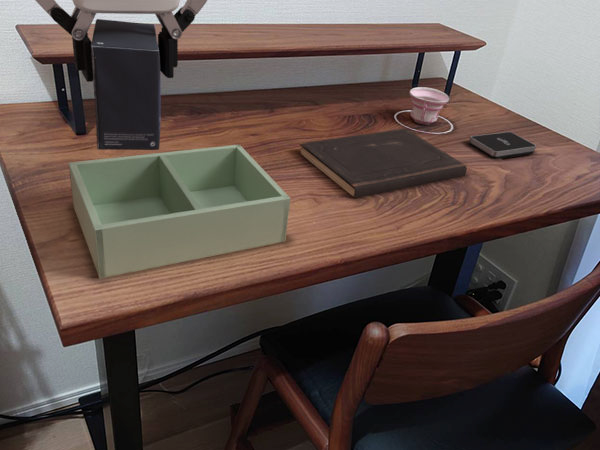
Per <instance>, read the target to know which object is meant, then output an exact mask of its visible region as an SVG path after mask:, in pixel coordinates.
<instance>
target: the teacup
mask: <svg viewBox="0 0 600 450" xmlns="http://www.w3.org/2000/svg"><path fill="white" fill-rule="evenodd" d="M408 93H409V97H410V99H411V104H412V108H411V109H407V110H401V111H398V112H395V114H394V118H393V119H395V121H396V122H397V123H398V124H399V125H401V126H403V127H404V128H406V129H407V128H408V129H409V130H413V131H416V132H419V133H425V134H430V132H429V131H424V130H418V129H414V128H412V127H409V126H406V125H405V124H403V123H402V122H400V121H399V120H398V119H397V115H399V114H402V113H404V112H410V117H411V118H412V119H413V121H414V122H415V123H417V124H419V125H424V126H430V125H432V123H436V122H437V121H438V118H440V119H443V120H444V121H446V122H447V123H448V124H449V125H450V129H449V130H447V131H443V132H431V134H434V135H441V134H447V133H450V132H452V131H453V130H454V124H453V123H452V122H451V121H449V120H448V119H447V118H445V117H444V116H441V115H439V113H440V112H441V110H443V109H444V106H445V105H446V104H447V103H449V101H450V97H449V95H448V94H447V93H445V92H443V91H442V90H439V89H436V88H432V87H426V86H424V87H423V86H418V87H413V88H411V89H410V90H409V92H408Z"/></svg>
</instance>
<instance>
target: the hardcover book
mask: <svg viewBox="0 0 600 450" xmlns="http://www.w3.org/2000/svg"><path fill="white" fill-rule="evenodd" d="M299 146H300V147H301V149H300V155H302V156H303V157H304V158H305V159H307V160H308V161H309V162H310V163H311V164H312V165H314V166H315V167H316V168H318V169H319V170H320V171H321V172H322V173H323V174H325V176H327V177H328V178H330V179H331V180H332V181H333V182H334V183H336V184H337V185H338V186H339V187H341V188H342V189H343V190H344V191H346V193H348V194H349V195H350V196H352V197H353V199H354V200H355V199H359V198H364V197H368V196H374V195H378V194H383V193H387V192H388V193H389V192H393V191H398V190H403V189H407V188H412V187H418V186H422V185H428V184H432V183H437V182H441V181H446V180H451V179H456V178H461V177H465V176H466V173H467V169H468V168H467V165H466V164H465V163H463V162H461V161H460V160H458V159H456V158H455V157H454V156H451V155H450V154H448V153H446V152H445V151H443V150H441V149H440V148H438V147H436V146H435V145H433V144H432V143H430V142H429V141H427V140H425V139H423V137H420V136H418V135H417V134H415V133H414V132H412V131H411V130H410V129H409V130H408V129H407V128H401V129H393V130H388V131H381V132H373V133H366V134H358V135H357V134H356V135H350V136H343V137H335V138H328V139H322V140H315V141H308V142H307V141H305V142H299Z"/></svg>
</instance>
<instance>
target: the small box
mask: <svg viewBox="0 0 600 450" xmlns="http://www.w3.org/2000/svg"><path fill="white" fill-rule="evenodd" d="M91 42H92V43H91V57H92V70H93V81H92V82H93V96H94V109H95V129H96V130H95V131H96V135H95V136H96V149H97V150H100V151H102V150H104V151H105V150H109V151H110V150H116V151H118V150H119V151H120V150H121V151H123V150H125V151H127V150H128V151H159V150H160V144H161V142H160V140H161V122H162V121H161V120H162V119H161V116H162V115H161V113H162V111H161V110H162V109H161V107H162V106H161V103H162V102H161V100H162V99H161V98H162V97H161V93H162V90H161V89H162V87H161V85H162V84H161V82H162V81H161V71H160V56H159V48H158V36H157V31H156V25H155V24H154V23H144V22H132V21H122V20H112V19H111V20H110V19H102V18H97V19H96V20H95V21H94V27H93V33H92V37H91Z"/></svg>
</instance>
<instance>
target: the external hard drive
mask: <svg viewBox="0 0 600 450" xmlns="http://www.w3.org/2000/svg"><path fill="white" fill-rule="evenodd" d="M468 146H470V147H472V148H474V149H475V150H477V151H478V152H479V153H481V154H484V155H485V156H487V157H489V158H490V159H492V160H498V159H499V160H500V159H501V160H503V159H509V158H510V159H511V158H516V157H522V156H523V157H525V156H530V155H534V153H535V150H536V148H537V145H536V144H535V143H533V142H531V141H529V140H527V139H525V138H524V137H521V136H519V135H518V134H516V133H514V132H512V131H503V132H502V131H501V132H495V133H487V134H479V135H478V134H477V135H471V136H470V138H469V141H468Z"/></svg>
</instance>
